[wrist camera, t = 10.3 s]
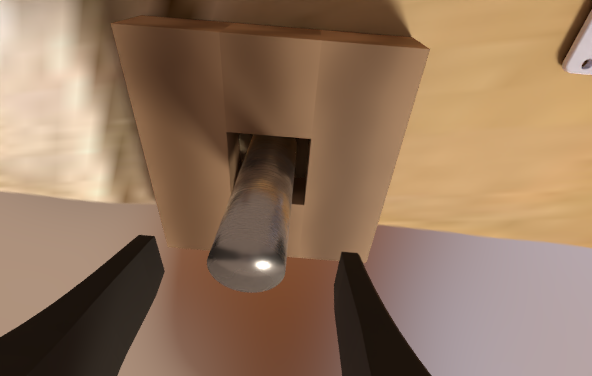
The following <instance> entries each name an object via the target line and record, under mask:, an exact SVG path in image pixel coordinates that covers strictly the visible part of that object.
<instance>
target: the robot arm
mask: <svg viewBox="0 0 592 376" xmlns="http://www.w3.org/2000/svg"><path fill="white" fill-rule="evenodd" d="M587 59H588V62H587V63H586V65H585V66H583V67H581V66H582V64H583V62H584V61H586V60H587ZM562 68H563V70H564V71H566V72H569V73H575V74H587V75H592V10H591V12H590V14H589V15H588V17H587V19H586V21H585V23H584V25H583V26H582V28H581V30H580V32H579V34H578V35H577V37H576V39H575V41H574V43H573V45H572V46H571V48H570V50H569V52H568V54H567V56H566V57H565V59H564V61H563V64H562ZM163 274H164V267H163V264H162V260H161V257H160V253H159V250H158V246H157V243H156V239H155V237H154V236H145V235H138V236H137V237H136V238H135V239H133V240H132V241H131V242H130V243H129V244H127V245H126V246H125V247H124V248H123V249H121V250H120V251H119V252H118V253H117V254H115V255H114V256H113V257H112V258H111V259H110V260H108V261H107V262H106V263H105V264H103V265H102V266H101V267H100V268H98V269H97V270H96V271H95V272H94V273H93V274H91V275H90V276H89V277H87V278H86V279H85V280H84V281H82V282H81V283H80V284H78V285H77V286H76V287H74V288H73V289H72V290H70V291H69V292H68V293H67V294H65V295H64V296H62V297H61V298H60V299H58V300H57V301H56V302H54V303H53V304H51V305H50V306H49V307H47V308H46V309H44V310H43V311H41V312H40V313H38V314H37V315H35V316H34V317H32V318H31V319H29V320H28V321H26V322H25V323H23V324H21V325H20V326H18V327H17V328H15V329H14V330H12V331H10V332H8V333H7V334H5V335H3V336H2V337H0V376H117V375H118V372H119V370H120V367H121V365H122V363H123V361H124V359H125V356H126V354H127V352H128V350H129V348H130V346H131V344H132V342H133V340H134V338H135V336H136V334H137V332H138V330H139V329H140V326H141V325H142V323H143V321H144V319H145V317H146V315H147V313H148V311H149V309H150V307H151V305H152V303H153V301H154V299H155V296H156V294H157V291H158V289H159V286H160V283H161V280H162V277H163ZM334 310H335V320H336V327H337V336H338V344H339V352H340V360H341V368H342V376H431V374H430V373H429V372H428V371H427V369H426V368H425V366H424V365H423V364H422V362H421V361H420V360H419V359H418V357H417V356H416V354H415V353H414V351H413V350H412V349H411V347H410V346H409V345H408V343H407V341H406V340H405V338H404V337H403V335H402V334H401V332H400V331H399V329H398V328H397V326H396V324H395V323H394V321H393V320H392V318H391V316H390V315H389V313H388V311H387V310H386V308H385V306H384V304H383V302H382V301H381V299H380V297H379V295H378V293H377V292H376V290H375V288H374V286H373V284H372V282H371V280H370V278H369V276H368V274H367V271H366V269H365V267H364V265H363V262H362V260H361V257H360V255H359V254H358V253H353V252H341V256H340V261H339V265H338V270H337V274H336V279H335V283H334Z"/></svg>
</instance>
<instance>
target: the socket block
mask: <svg viewBox="0 0 592 376" xmlns="http://www.w3.org/2000/svg"><path fill="white" fill-rule="evenodd" d="M111 27H112V31H113V35H114V39H115V43H116V46H117V50H118V54H119V58H120V62H121V66H122V70H123V74H124V78H125V82H126V86H127V89H128V93H129V97H130V101H131V105H132V109H133V113H134V117H135V121H136V125H137V129H138V132H139V136H140V140H141V144H142V148H143V152H144V156H145V160H146V164H147V168H148V172H149V175H150V179H151V183H152V187H153V191H154V195H155V199H156V203H157V207H158V210H159V215H160V218H161V222H162V226H163V230H164V234H165V238H166V242H167V246H168V247H172V248H184V249H197V250H211V248H212V245H213V242H214V239H215V237H216V234H217V231H218V229H219V226H220V223H221V220H222V218H223V215H224V212H225V210H226V207H227V204H228V201H229V199H230V196H231V193H232V191H233V188H234V185H235V182H236V180H237V177H238V174H239V172H240V147H239V133H245V134H258V135H270V136H282V137H295V138H307V139H309V147H308V157H307V167H306V177H305V178H297V177H294V183H293V194H292V204H291V215H290V226H289V236H288V247H287V257H297V258H310V259H321V260H334V261H340V256H341V252H353V253H358V254H359V255H360V257H361V260H362V262H363V263H366V262H367V258H368V255H369V252H370V248H371V245H372V241H373V238H374V235H375V231H376V228H377V225H378V222H379V218H380V215H381V211H382V208H383V205H384V201H385V198H386V195H387V191H388V188H389V185H390V181H391V178H392V175H393V171H394V168H395V165H396V161H397V158H398V155H399V151H400V148H401V145H402V141H403V138H404V135H405V131H406V128H407V125H408V121H409V118H410V115H411V111H412V108H413V104H414V101H415V98H416V94H417V91H418V88H419V84H420V81H421V78H422V74H423V71H424V68H425V64H426V61H427V58H428V54H429V51H430V49H429V48H427V47H426V46H424V45H423V44H421V43H420V42H418V41H417V40H415V39H414V38H412V37H404V36H391V35H379V34H367V33H354V32H342V31H330V30H318V29H305V28H293V27H281V26H268V25H256V24H244V23H231V22H219V21H207V20H194V19H182V18H170V17H157V16H145V15H141V16H137V17H133V18H129V19H126V20H122V21H118V22H114V23H111Z"/></svg>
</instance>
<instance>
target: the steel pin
mask: <svg viewBox="0 0 592 376" xmlns="http://www.w3.org/2000/svg"><path fill="white" fill-rule="evenodd" d="M296 151H297V143H296V140H295V137H282V136H270V135H258V134H253V136H252V139H251V142H250V144H249V147H248V150H247V153H246V155H245V158H244V161H243V163H242V166H241V169H240V172H239V174H238V177H237V180H236V182H235V185H234V188H233V191H232V193H231V196H230V199H229V201H228V204H227V207H226V210H225V212H224V215H223V218H222V220H221V223H220V226H219V229H218V231H217V234H216V237H215V239H214V242H213V245H212V248H211V250H210V253H209V256H208V259H207V266H208V269H209V272H210V273H211V275H212V276H213V277H214V278H215V279H216V280H217V281H218V282H219V283H221V284H223V285H224V286H226V287H229V288H231V289H234V290H237V291H242V292H262V291H266V290H269V289H271V288H273V287H275V286H277V285H278V284H279V283H280V282H281V281H282V279H283V277H284V275H285V268H286V257H287V247H288V236H289V226H290V215H291V204H292V194H293V183H294V172H295V162H296Z"/></svg>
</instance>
